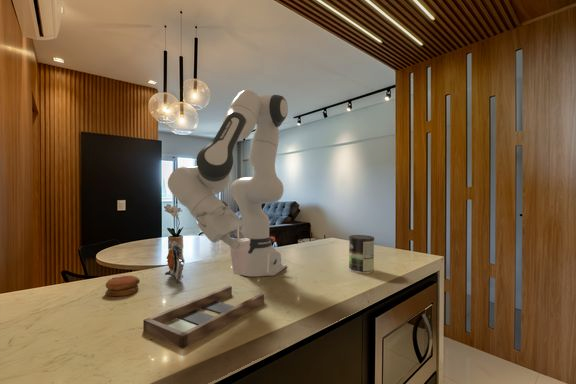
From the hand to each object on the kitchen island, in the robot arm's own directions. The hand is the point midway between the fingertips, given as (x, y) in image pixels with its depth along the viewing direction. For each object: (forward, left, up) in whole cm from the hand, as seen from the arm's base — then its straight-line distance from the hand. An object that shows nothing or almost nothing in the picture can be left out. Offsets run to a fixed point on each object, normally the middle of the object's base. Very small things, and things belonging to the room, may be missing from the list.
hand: (241, 244), depth 81 cm
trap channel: (+11, -1, -17) cm, 20 cm away
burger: (+14, -38, -17) cm, 44 cm away
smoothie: (0, -1, -8) cm, 8 cm away
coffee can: (-53, +20, -17) cm, 59 cm away
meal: (-4, -37, -17) cm, 41 cm away
